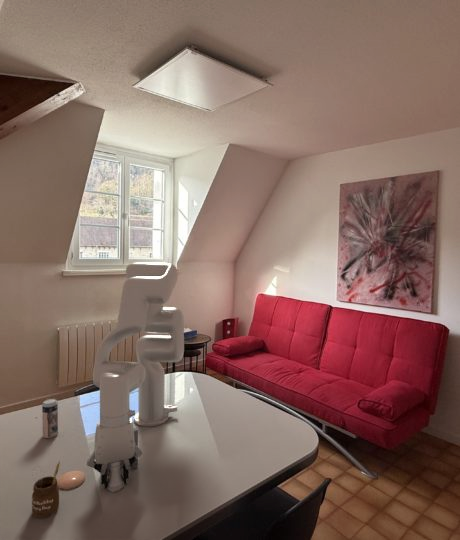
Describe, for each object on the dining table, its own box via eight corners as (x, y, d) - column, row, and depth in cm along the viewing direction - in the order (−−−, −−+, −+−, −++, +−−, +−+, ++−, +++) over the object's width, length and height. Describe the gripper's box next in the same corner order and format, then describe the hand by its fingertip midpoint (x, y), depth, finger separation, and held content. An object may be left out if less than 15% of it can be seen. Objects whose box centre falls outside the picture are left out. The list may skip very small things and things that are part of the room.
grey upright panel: (136, 459, 110) (136, 424, 110) (138, 469, 106) (138, 432, 105) (101, 467, 107) (101, 430, 106) (102, 477, 102) (102, 439, 101)
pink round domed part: (84, 470, 105) (84, 468, 105) (85, 485, 98) (85, 483, 98) (58, 475, 102) (57, 473, 102) (56, 491, 96) (56, 489, 96)
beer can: (51, 440, 121) (51, 404, 120) (39, 438, 122) (38, 403, 121) (61, 432, 125) (60, 398, 125) (49, 431, 126) (48, 397, 125)
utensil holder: (38, 501, 92) (38, 456, 91) (64, 501, 92) (63, 455, 92) (27, 519, 86) (26, 470, 85) (54, 518, 87) (53, 470, 86)
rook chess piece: (108, 481, 100) (108, 453, 100) (125, 481, 100) (125, 453, 100) (104, 492, 96) (104, 463, 95) (122, 492, 96) (121, 463, 95)
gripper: (144, 406, 103) (144, 468, 105) (80, 416, 97) (81, 482, 98) (149, 418, 96) (149, 484, 98) (80, 430, 90) (81, 500, 91)
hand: (115, 482), depth 98 cm, fingers closed on rook chess piece, 4 cm apart
